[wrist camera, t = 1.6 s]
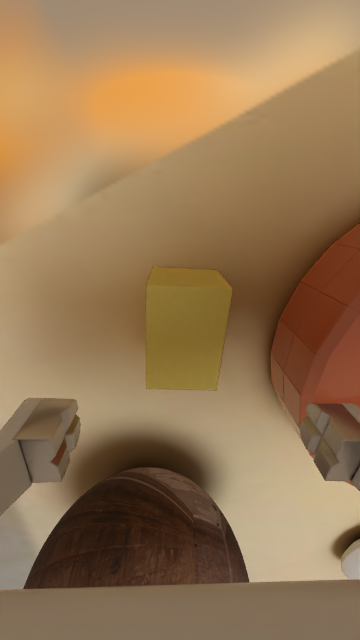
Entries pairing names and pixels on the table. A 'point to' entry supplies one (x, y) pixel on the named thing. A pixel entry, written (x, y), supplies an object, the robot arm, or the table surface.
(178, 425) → the table surface
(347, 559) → the flower in vase
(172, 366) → the sponge
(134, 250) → the table surface
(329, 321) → the bowl
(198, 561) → the wooden sphere
